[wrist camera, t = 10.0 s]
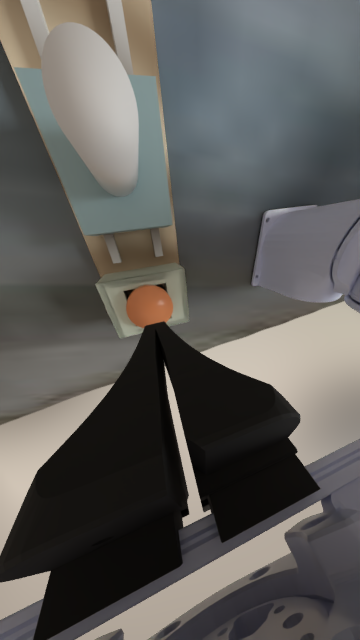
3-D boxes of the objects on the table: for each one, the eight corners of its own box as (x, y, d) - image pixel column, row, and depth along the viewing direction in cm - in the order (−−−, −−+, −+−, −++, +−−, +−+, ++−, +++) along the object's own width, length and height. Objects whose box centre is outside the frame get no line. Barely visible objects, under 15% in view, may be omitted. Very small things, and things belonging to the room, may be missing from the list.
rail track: (182, 309, 21) (187, 317, 19) (122, 323, 19) (120, 333, 17) (116, -266, 6) (104, -565, 4) (-176, -400, 4) (-490, -1042, 2)
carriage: (167, 227, 14) (192, 216, 7) (93, 236, 13) (48, 232, 6) (151, 113, 10) (176, -113, 4) (45, 111, 9) (-197, -227, 2)
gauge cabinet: (178, 304, 20) (189, 321, 16) (120, 317, 19) (115, 339, 15) (173, 261, 17) (184, 268, 13) (102, 273, 16) (89, 285, 11)
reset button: (168, 306, 18) (175, 323, 15) (134, 314, 17) (134, 333, 14) (162, 273, 16) (169, 282, 12) (123, 280, 15) (119, 292, 11)
